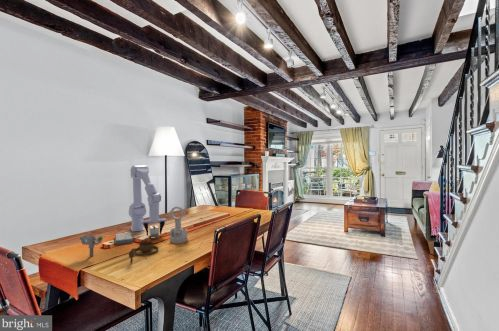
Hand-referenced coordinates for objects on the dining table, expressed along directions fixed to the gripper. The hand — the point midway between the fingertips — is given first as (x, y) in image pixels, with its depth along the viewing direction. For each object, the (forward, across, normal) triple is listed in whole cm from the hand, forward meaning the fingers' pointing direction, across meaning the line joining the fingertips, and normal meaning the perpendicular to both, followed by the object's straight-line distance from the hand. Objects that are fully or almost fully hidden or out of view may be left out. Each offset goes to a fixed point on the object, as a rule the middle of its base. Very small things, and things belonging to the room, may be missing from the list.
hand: (153, 234), depth 159 cm
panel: (+1, -17, 0) cm, 17 cm away
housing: (+2, 0, 0) cm, 2 cm away
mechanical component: (+2, -32, -20) cm, 38 cm away
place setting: (+2, -10, -27) cm, 29 cm away
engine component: (+2, +12, -13) cm, 18 cm away
